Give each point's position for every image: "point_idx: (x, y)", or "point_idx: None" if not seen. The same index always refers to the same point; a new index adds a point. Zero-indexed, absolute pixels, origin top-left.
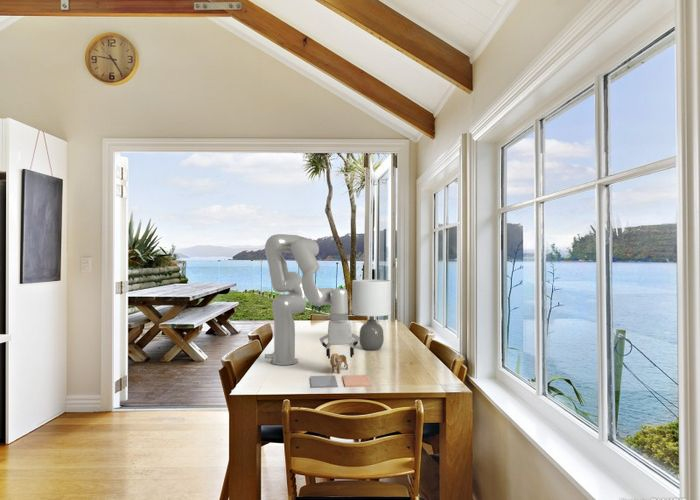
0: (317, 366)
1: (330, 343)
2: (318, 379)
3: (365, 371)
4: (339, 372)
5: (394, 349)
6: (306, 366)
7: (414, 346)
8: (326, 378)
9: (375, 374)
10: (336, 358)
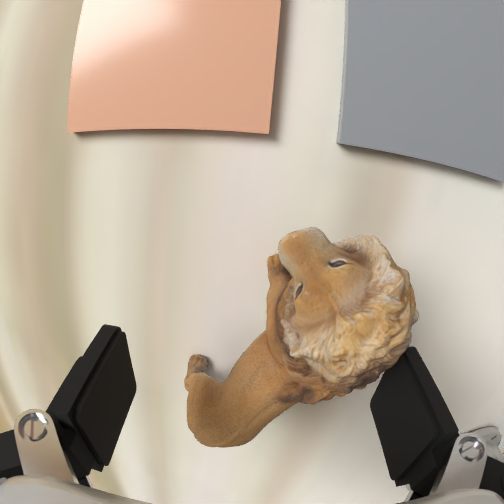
0: (364, 429)
1: (492, 495)
2: (474, 61)
3: (75, 281)
4: (274, 260)
5: None
6: None
7: None
8: (422, 64)
9: (22, 188)
10: (350, 257)
